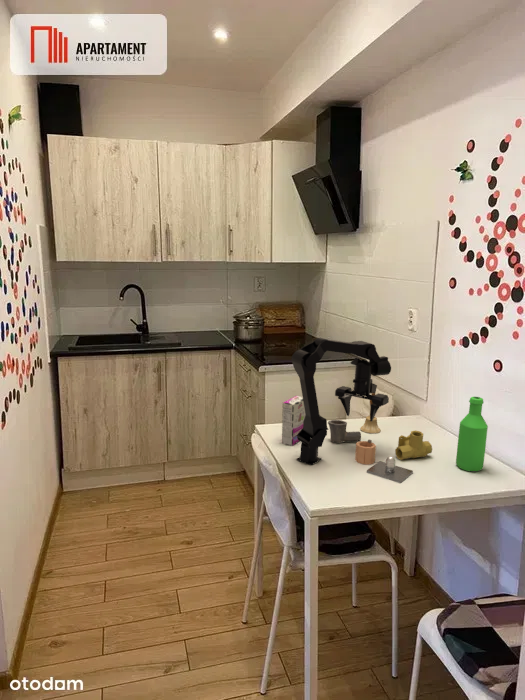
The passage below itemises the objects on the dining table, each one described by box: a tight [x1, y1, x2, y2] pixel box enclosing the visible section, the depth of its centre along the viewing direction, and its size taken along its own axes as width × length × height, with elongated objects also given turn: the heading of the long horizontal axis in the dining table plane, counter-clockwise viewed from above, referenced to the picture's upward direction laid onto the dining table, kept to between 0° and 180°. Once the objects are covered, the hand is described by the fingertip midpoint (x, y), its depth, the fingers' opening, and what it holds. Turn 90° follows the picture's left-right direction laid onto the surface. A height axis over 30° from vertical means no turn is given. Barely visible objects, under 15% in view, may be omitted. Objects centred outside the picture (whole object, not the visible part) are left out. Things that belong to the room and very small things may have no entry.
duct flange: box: [366, 455, 414, 484], centre depth 172 cm, size 10×12×6 cm
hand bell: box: [359, 393, 381, 434], centre depth 211 cm, size 8×8×16 cm
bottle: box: [455, 396, 489, 472], centre depth 176 cm, size 9×9×25 cm
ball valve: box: [394, 430, 433, 461], centre depth 187 cm, size 13×10×10 cm
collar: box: [354, 439, 377, 465], centre depth 181 cm, size 6×6×7 cm
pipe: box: [327, 419, 362, 444], centre depth 198 cm, size 6×13×8 cm, turn 89°
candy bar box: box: [281, 395, 305, 447], centre depth 197 cm, size 11×5×16 cm, turn 148°
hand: (359, 418), depth 187 cm, fingers open, 9 cm apart
